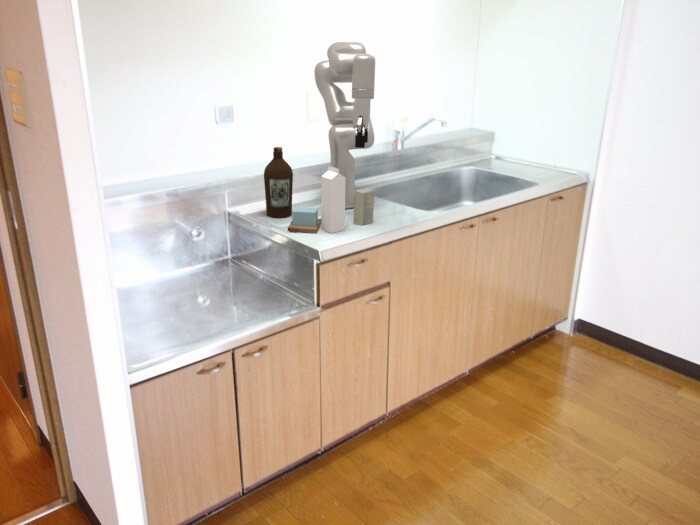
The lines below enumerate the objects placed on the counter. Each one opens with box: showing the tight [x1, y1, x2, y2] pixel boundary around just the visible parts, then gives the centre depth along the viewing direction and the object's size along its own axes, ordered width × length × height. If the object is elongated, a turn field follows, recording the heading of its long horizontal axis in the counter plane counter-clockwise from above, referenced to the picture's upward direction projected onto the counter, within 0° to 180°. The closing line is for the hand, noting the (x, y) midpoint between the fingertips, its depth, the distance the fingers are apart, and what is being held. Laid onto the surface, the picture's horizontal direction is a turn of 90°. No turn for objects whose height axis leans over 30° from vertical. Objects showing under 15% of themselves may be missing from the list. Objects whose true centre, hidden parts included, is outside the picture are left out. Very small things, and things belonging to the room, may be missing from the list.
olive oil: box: [263, 146, 294, 219], centre depth 226 cm, size 11×11×25 cm
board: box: [287, 218, 321, 234], centre depth 216 cm, size 12×10×2 cm
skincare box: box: [353, 187, 375, 226], centre depth 221 cm, size 6×4×12 cm
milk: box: [320, 165, 346, 234], centre depth 211 cm, size 6×6×22 cm
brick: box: [291, 206, 319, 227], centre depth 215 cm, size 6×8×5 cm
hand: (361, 144), depth 213 cm, fingers open, 9 cm apart
